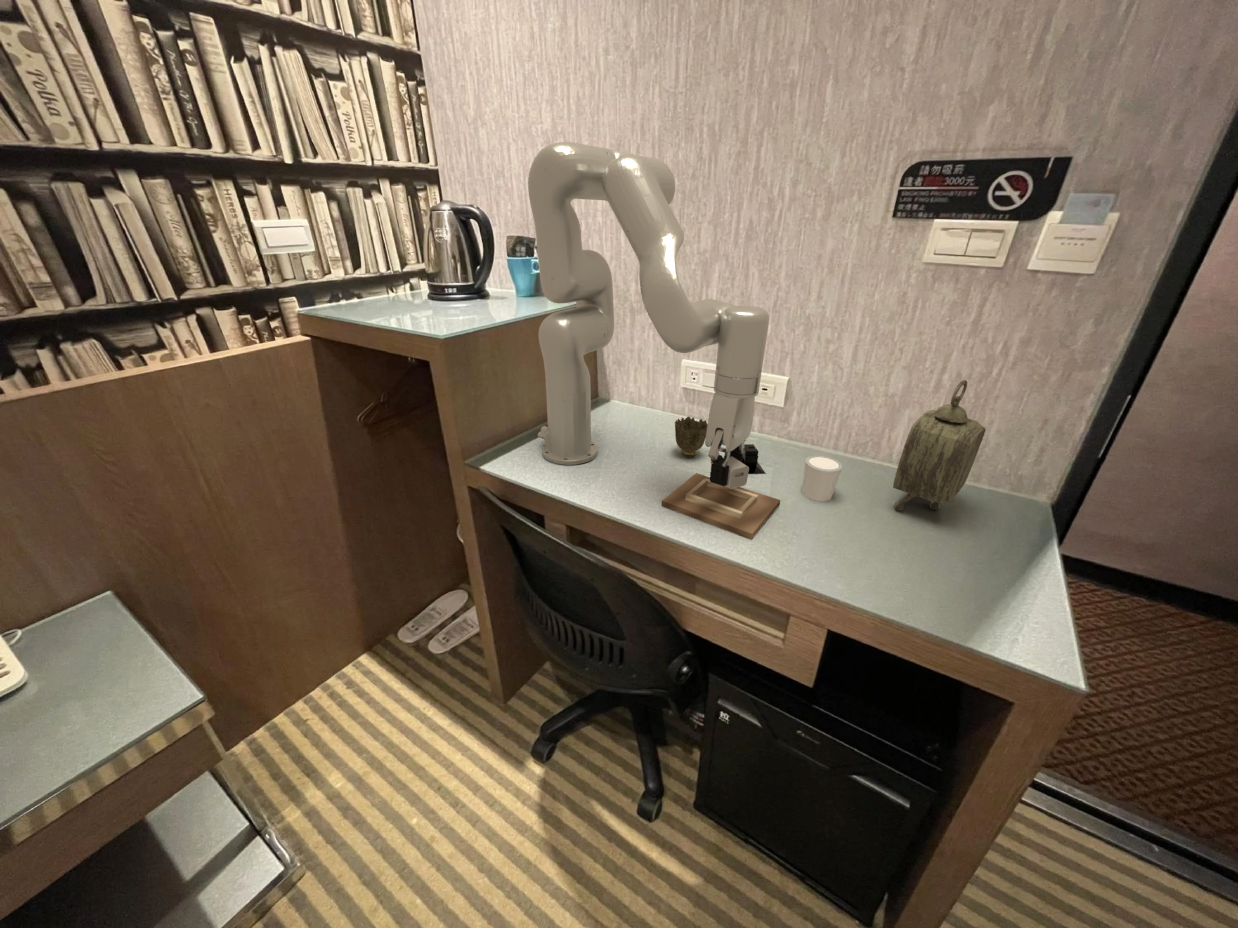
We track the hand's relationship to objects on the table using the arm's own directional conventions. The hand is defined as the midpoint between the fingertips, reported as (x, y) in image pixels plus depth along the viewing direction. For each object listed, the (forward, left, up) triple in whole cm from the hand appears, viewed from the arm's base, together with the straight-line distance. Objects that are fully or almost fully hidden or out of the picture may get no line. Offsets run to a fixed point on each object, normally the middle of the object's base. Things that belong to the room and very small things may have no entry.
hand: (725, 476), depth 94 cm
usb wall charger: (0, +1, -1) cm, 1 cm away
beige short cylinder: (+13, +16, -7) cm, 22 cm away
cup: (-16, +16, -7) cm, 23 cm away
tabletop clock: (+31, +24, -7) cm, 40 cm away
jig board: (0, 0, -6) cm, 6 cm away
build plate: (-3, +20, -7) cm, 21 cm away
